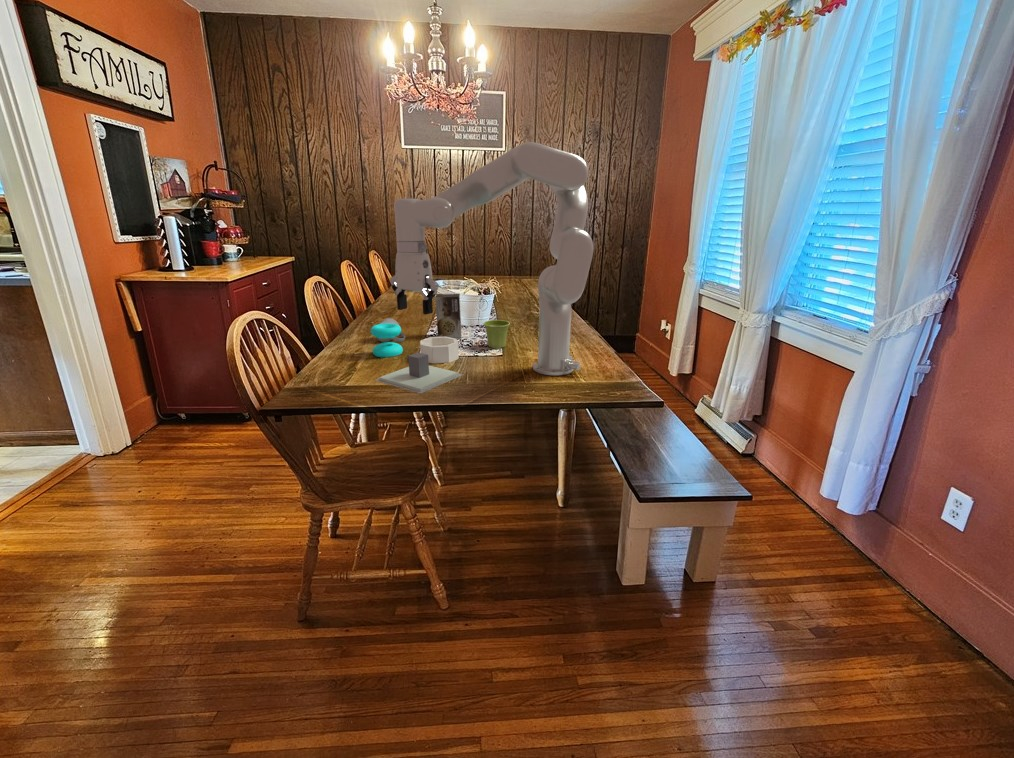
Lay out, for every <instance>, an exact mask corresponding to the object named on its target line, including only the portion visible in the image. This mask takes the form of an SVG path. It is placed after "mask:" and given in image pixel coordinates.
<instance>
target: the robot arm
mask: <svg viewBox="0 0 1014 758" xmlns="http://www.w3.org/2000/svg"><path fill="white" fill-rule="evenodd" d="M588 176H589V167H588V164H587V163H586V161H585V160H584V158H582V157H581V156H580V155H577V154H574V153H572V152H568V151H564V150H561V149H558V148H556V147H551V146H548V145H545V144H542V143H538V142H533V141H528V142H524V143H522V144H519V145H516V146H515V147H513V148H512V149H510V150H508V151H506V152H505V153H503V154H502V155H500V156H498V157H497V158H495V159H493V160H492V161H490V162H488V163H486V164H485V165H483V166H482V167H479V168H478V169H476V170H475V171H473V172H472V173H470V174H469V175H467V176H466V177H465V178H463V179H462V180H459V182H457V183H455V184H454V185H452V186H450V187H449V188H447V189H446V190H443V191H442V192H440V193H439V194H437V195H436V196H434V197H432V198H428V199H419V198H413V197H412V198H407V197H405V198H398V199H396V200H395V201H394V207H393V208H394V219H395V220H394V221H395V232H396V233H395V234H396V250H397V252H396V254H395V267H394V268H395V275H393V276H391V277H390V278H389V283H390V285H391V288H392V290H393V291H394V295H395V297H396V304H397V310H398V311H402V310H405V309H406V310H407V309H408V300H407V299H408V297H407V294H405V293H406V292H407V291H408V292H414V293H415V292H417V293H420V294H421V296H422V297H423V299H422V313H423V315H429V314H433V311H434V309H433V305H434V304H433V299H434V298H435V297H436V295H437V294H438V290H439V286H440V284H439V283H438V282H437V281H436V280H435V279H433V278H434V277H433V269H432V263H431V259H430V255H429V253H427V249H428V248H429V247H428V244H426V228H427V227H428V228H434V229H445V228H447V227H449V226H450V225H452V223H453V222H454V219H456V218H457V217H459V216H460V215H462V214H465V213H466V212H468V211H470V210H472V209H473V208H476V207H479V206H483V205H486V204H489V203H491V202H492V201H495V200H496V199H498V198H499V197H501V196H503V195H505V194H506V193H507V192H509V191H511V190H513V189H514V188H515V187H516V188H517V187H518V186H519V185H521V184H523V183H525V182H526V181H528V180H534V181H537V182H540V183H543V184H546V185H548V186H549V188H550V189H551V190H552V191H553V193H554V195H555V197H556V202H557V209H556V216H555V221H554V225H553V229H552V234H551V238H550V241H549V251H550V254H551V256H552V257H553V258H554V259H556V260H557V261H556V263H555V265H554V264H553V265H550V266H547V267H546V268H544V269H543V270H542V271H541V273H540V274H539V277H538V281H537V289H538V291H537V292H538V303H539V310H538V311H539V315H538V316H539V317H538V344H537V345H538V346H537V347H538V351H537V352H538V354H537V361H536V362H534V363H533V364H532V370H533V371H534V372H536V373H538V374H540V375H546V376H565V375H569V374H571V373H572V372H573V371H574V370H575V371H579V370H580V369H581V365H580V361H576V360H575V361H574V360H573V355H571V354H570V347H571V345H570V343H571V328H572V327H571V324H572V323H571V322H572V304H574V303H576V302H577V301H578V300H579V299H580V298H581V297H582V295H583V292H584V290H585V288H586V284H587V279H588V277H589V274H590V273H589V271H590V268H591V263H592V260H593V256H594V242H593V239H592V237H591V235H590V234H589V233H588V232H587V231H586V230H585V229H586V228H585V227H586V222H587V216H588V210H589V199H588V193H587V190H586V187H585V186H584V185H585V184H586V182H587V180H588V178H589V177H588Z"/></svg>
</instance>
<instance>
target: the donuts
mask: <svg viewBox="0 0 1014 758" xmlns="http://www.w3.org/2000/svg"><path fill="white" fill-rule="evenodd" d="M401 332H402V328H401V326H400V324H399V325H397V324H392V323H384V324H379V323H378V324H374V325H373V326H371V328H370V333H371V335H372V336H373V337H375V338H376V337H377V338H393V337H396V336H397V337H398V336H399V334H400V333H401ZM403 351H404V349H403V346H402V345H401V344H399V343H397V342H393V341H392V342H391V341H388V342H381V343H378V344H376V345H375V346H374V347H373V348H372V354H373V356H374V357H377V358H383V359H384V358H390V357H391V358H392V357H396V356H399V355H401V354H403Z"/></svg>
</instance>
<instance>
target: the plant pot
mask: <svg viewBox="0 0 1014 758" xmlns="http://www.w3.org/2000/svg"><path fill="white" fill-rule="evenodd" d="M510 324H511V323H510V321H508V320H505V319H504V320H503V319H491V320H487V321H484V322H483V325H484V329H485V333H486V340H487V346H488V347H489V348H491V349H500V348H505V347H506V343H507V337H508V331H509V330H508V329H509V327H510Z"/></svg>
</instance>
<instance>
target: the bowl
mask: <svg viewBox="0 0 1014 758" xmlns="http://www.w3.org/2000/svg"><path fill="white" fill-rule="evenodd" d="M419 341H420V343H419V344H420V353H423V354H427V355H428V361H429V364H447V363H448V364H449V363H452V362H455V361H457V360H459V359H460V358H459V341H458V338H450V337H438V336H429V337H427V338H424V339H421V340H419Z"/></svg>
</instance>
